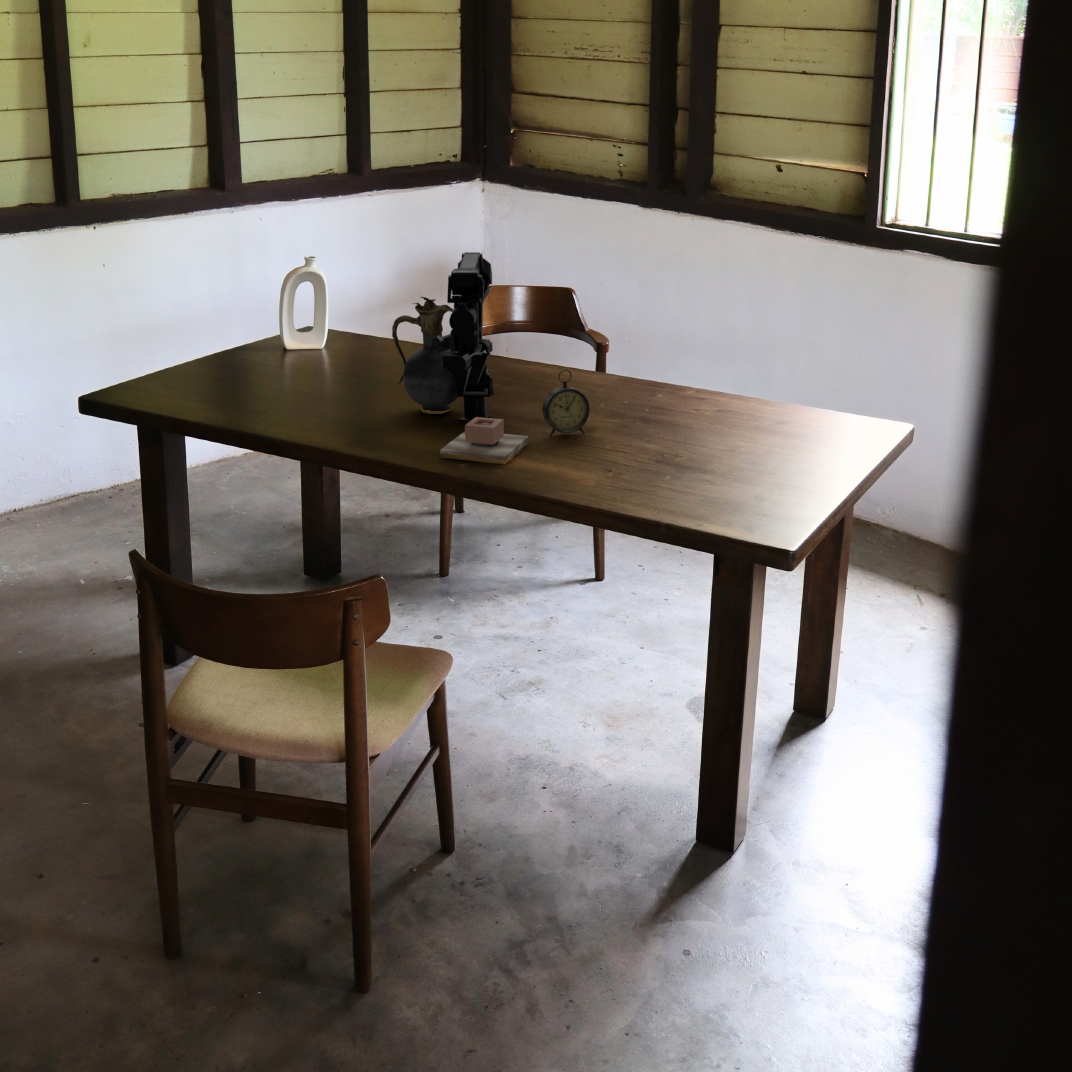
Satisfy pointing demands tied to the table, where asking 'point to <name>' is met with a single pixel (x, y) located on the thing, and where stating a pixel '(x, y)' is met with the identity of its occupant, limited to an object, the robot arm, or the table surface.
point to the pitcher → (427, 360)
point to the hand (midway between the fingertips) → (468, 388)
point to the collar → (484, 430)
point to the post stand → (486, 447)
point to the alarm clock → (565, 408)
